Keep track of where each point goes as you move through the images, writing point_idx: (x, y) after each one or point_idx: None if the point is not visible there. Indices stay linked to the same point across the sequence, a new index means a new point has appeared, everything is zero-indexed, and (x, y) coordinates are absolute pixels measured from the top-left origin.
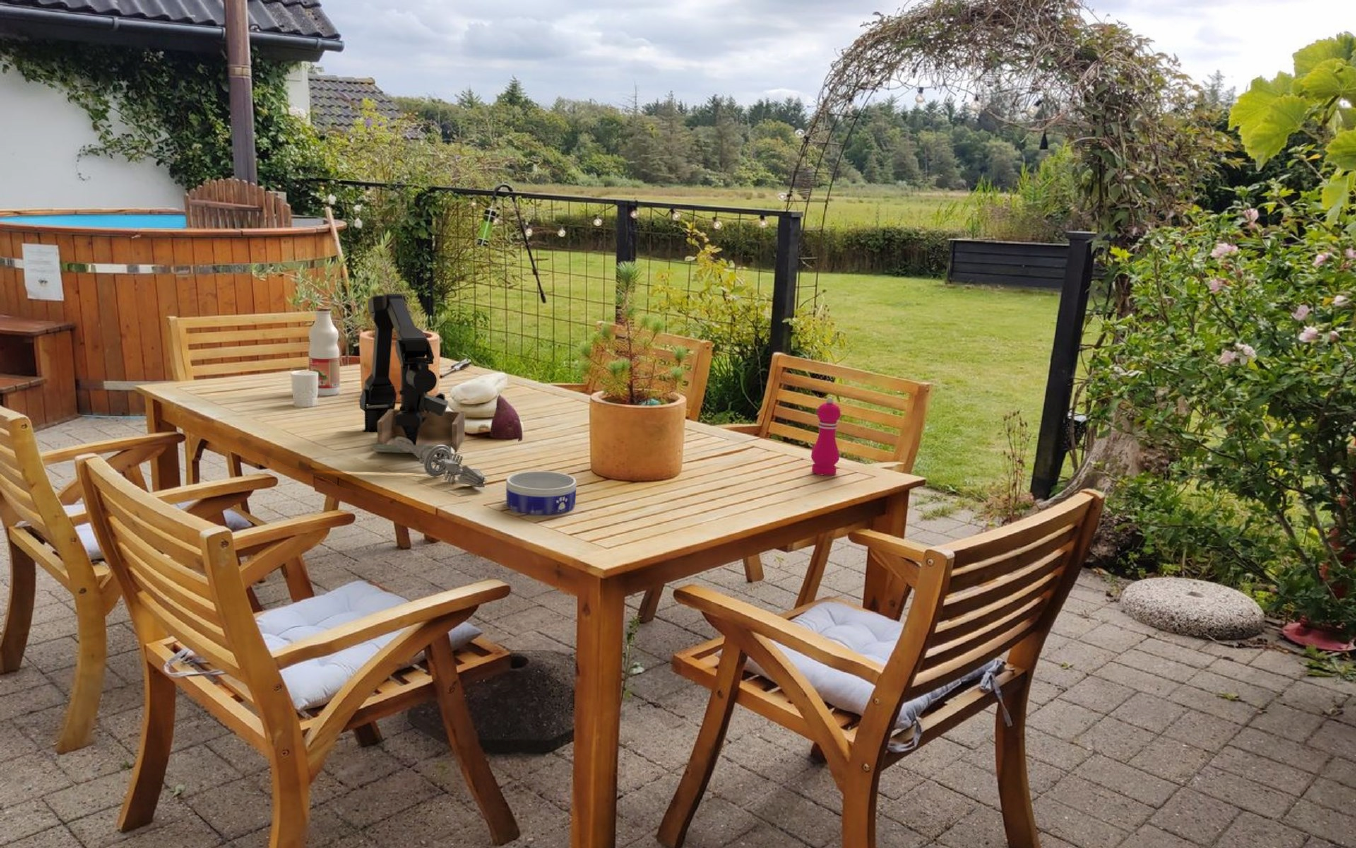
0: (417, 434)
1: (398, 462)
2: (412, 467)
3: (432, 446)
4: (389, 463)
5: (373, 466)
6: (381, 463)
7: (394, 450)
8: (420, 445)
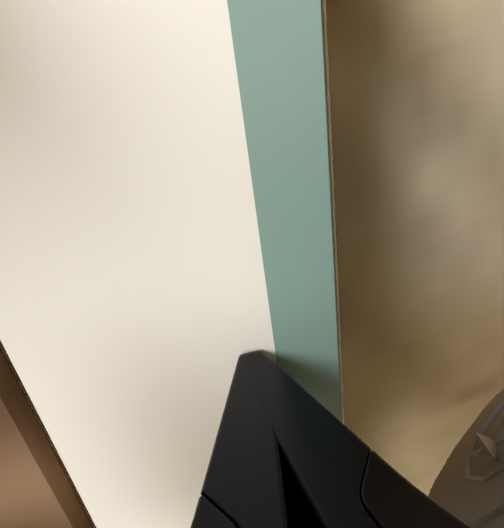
0: (327, 457)
1: (348, 346)
2: (494, 193)
3: (327, 104)
4: (384, 383)
5: (465, 426)
6: (390, 421)
7: None
8: (334, 285)
